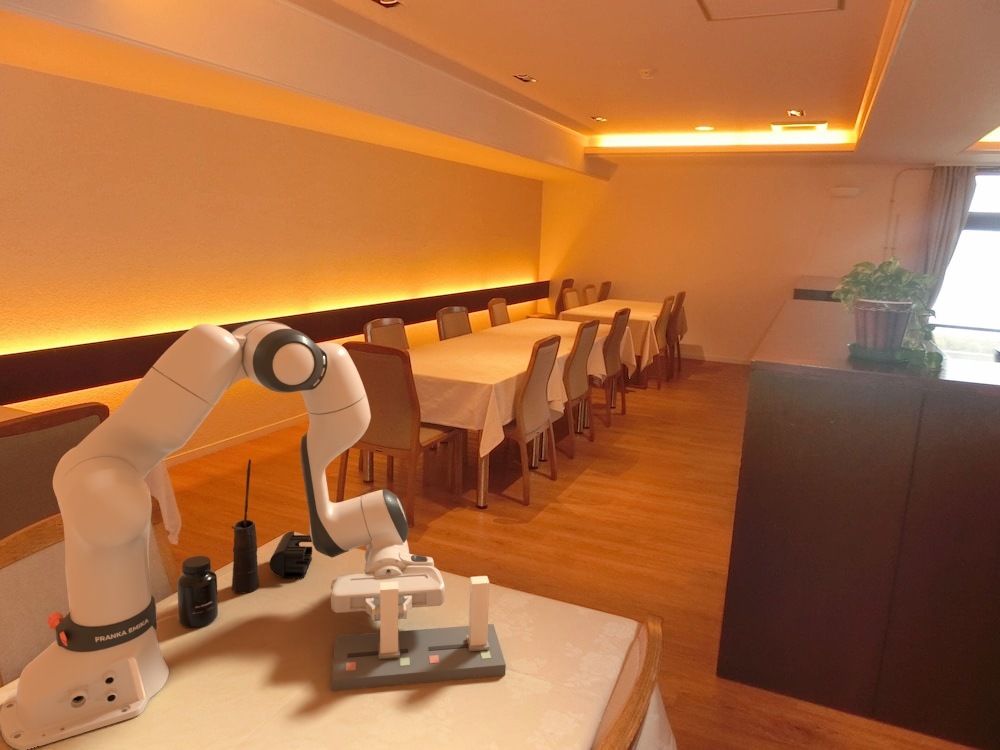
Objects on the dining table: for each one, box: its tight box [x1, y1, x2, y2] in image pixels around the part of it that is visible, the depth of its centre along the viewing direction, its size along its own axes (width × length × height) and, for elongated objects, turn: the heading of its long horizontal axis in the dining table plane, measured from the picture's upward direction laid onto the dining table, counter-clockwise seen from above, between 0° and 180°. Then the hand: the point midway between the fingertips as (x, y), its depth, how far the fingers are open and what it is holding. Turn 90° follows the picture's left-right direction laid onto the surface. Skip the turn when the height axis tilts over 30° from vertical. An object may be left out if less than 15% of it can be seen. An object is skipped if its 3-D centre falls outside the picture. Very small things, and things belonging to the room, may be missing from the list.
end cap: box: [269, 530, 313, 580], centre depth 142 cm, size 10×7×7 cm
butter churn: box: [231, 458, 259, 594], centre depth 130 cm, size 9×10×28 cm
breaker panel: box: [330, 623, 507, 692], centre depth 113 cm, size 29×12×2 cm, turn 101°
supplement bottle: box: [176, 555, 219, 629], centre depth 122 cm, size 7×7×12 cm
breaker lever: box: [466, 575, 490, 651], centre depth 114 cm, size 4×4×12 cm
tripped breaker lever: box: [379, 582, 400, 659], centre depth 111 cm, size 4×4×12 cm
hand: (389, 616), depth 110 cm, fingers closed on tripped breaker lever, 3 cm apart
